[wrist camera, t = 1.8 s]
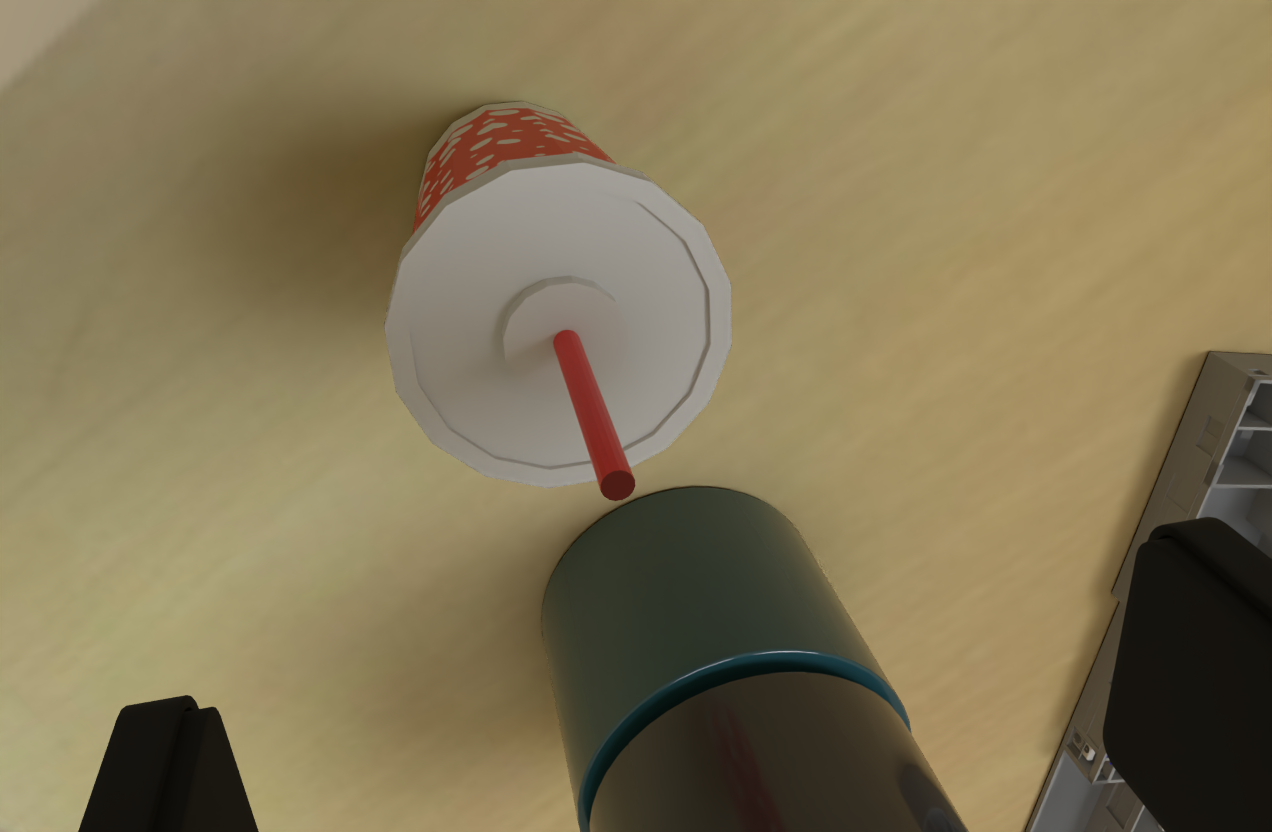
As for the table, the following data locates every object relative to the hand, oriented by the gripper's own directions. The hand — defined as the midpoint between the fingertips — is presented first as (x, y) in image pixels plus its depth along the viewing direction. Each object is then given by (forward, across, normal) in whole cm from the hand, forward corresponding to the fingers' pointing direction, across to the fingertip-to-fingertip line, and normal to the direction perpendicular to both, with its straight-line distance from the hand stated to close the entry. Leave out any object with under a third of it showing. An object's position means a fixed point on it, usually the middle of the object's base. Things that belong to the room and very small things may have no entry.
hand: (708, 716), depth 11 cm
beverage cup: (+18, 0, 0) cm, 18 cm away
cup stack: (+18, -3, +13) cm, 23 cm away
